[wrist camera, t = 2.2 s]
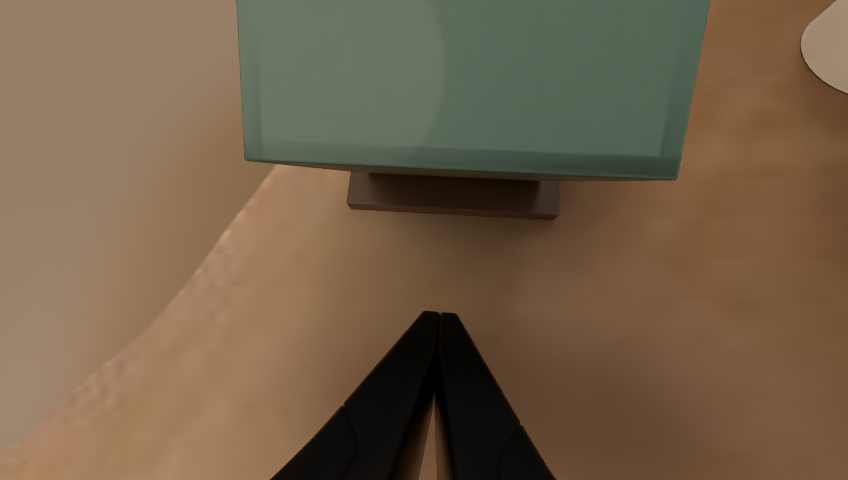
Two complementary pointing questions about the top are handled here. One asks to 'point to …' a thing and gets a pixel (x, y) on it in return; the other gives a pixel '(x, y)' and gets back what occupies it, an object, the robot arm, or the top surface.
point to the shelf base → (454, 195)
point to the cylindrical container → (828, 45)
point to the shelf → (471, 86)
